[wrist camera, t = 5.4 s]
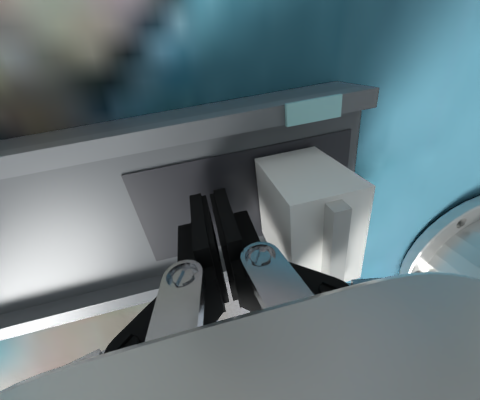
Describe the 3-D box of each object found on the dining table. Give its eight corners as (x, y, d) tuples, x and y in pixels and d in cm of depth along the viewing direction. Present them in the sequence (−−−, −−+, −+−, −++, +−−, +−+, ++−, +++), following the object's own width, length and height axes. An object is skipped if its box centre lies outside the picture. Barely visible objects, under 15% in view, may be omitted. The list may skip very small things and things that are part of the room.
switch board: (336, 80, 13) (382, 86, 10) (327, 217, 18) (358, 250, 15) (-407, 210, 10) (-669, 279, 7) (-180, 340, 15) (-276, 415, 11)
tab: (314, 146, 12) (388, 194, 8) (312, 220, 14) (369, 288, 10) (254, 158, 12) (297, 216, 8) (262, 232, 14) (298, 308, 10)
